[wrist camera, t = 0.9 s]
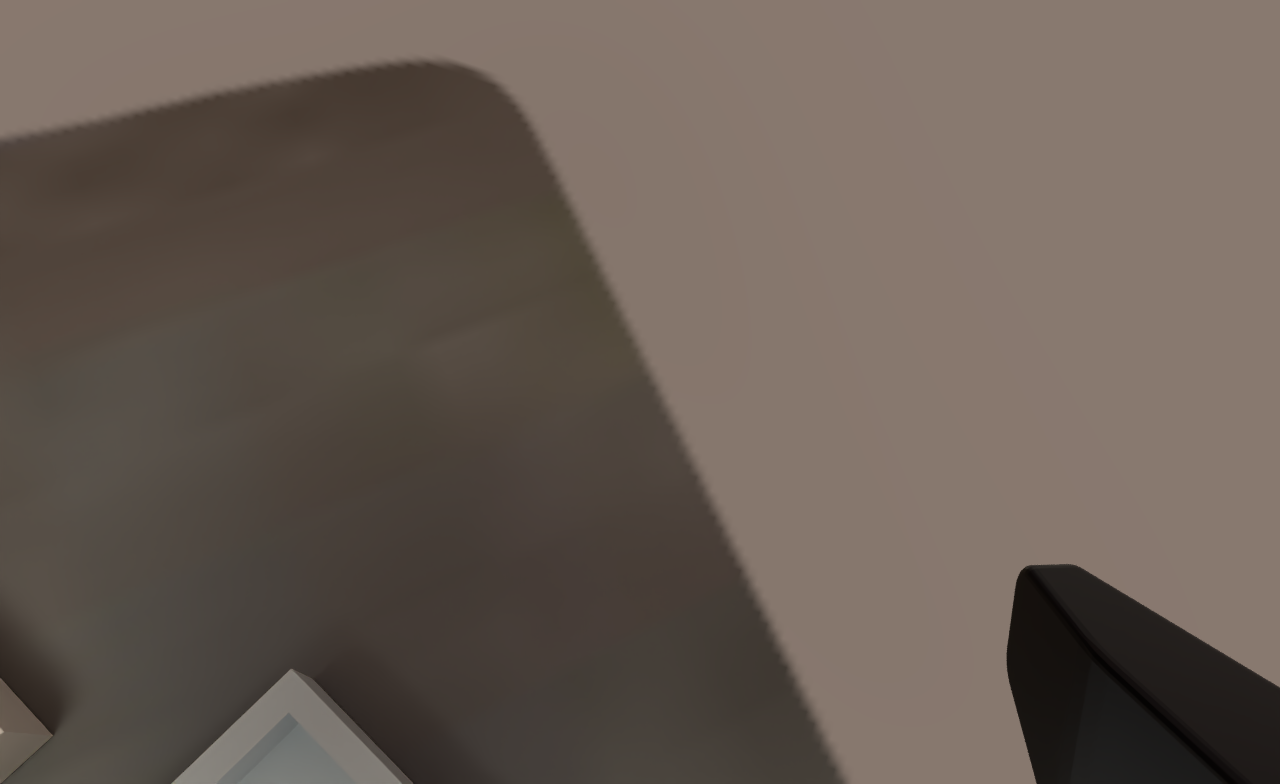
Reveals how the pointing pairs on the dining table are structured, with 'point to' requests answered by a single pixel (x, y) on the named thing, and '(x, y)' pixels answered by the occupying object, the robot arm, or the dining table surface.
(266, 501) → the dining table surface
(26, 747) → the fuse block
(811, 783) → the dining table surface
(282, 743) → the parts tray
